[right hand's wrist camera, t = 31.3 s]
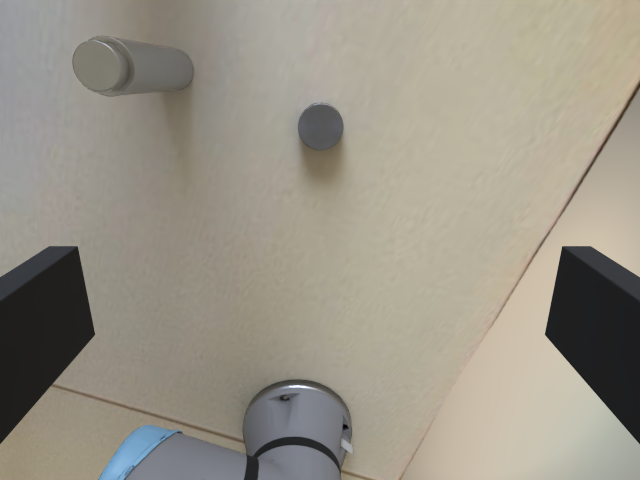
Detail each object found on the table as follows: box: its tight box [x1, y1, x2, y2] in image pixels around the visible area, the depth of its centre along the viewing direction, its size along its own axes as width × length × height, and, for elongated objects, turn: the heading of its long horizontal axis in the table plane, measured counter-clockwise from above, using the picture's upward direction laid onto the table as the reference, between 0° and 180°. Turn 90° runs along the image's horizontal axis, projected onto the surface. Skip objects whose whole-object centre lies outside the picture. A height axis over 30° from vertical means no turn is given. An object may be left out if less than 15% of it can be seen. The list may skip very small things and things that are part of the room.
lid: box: [298, 103, 343, 150], centre depth 50 cm, size 5×5×2 cm
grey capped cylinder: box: [73, 36, 194, 96], centre depth 40 cm, size 4×4×18 cm
